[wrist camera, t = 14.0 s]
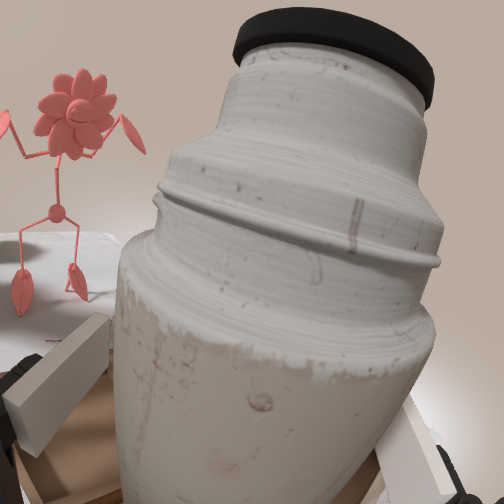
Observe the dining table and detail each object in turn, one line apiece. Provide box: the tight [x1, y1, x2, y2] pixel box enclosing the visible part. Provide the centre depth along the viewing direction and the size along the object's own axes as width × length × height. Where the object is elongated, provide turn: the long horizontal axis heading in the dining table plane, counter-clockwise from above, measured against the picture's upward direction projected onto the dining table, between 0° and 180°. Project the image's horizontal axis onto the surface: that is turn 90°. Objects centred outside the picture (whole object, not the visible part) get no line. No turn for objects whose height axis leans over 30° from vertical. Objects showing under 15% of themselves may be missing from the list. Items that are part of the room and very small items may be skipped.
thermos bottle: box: [113, 7, 444, 504], centre depth 10 cm, size 8×8×28 cm
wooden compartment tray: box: [0, 348, 385, 504], centre depth 23 cm, size 31×31×4 cm
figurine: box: [0, 68, 146, 341], centre depth 36 cm, size 15×26×35 cm, turn 145°
